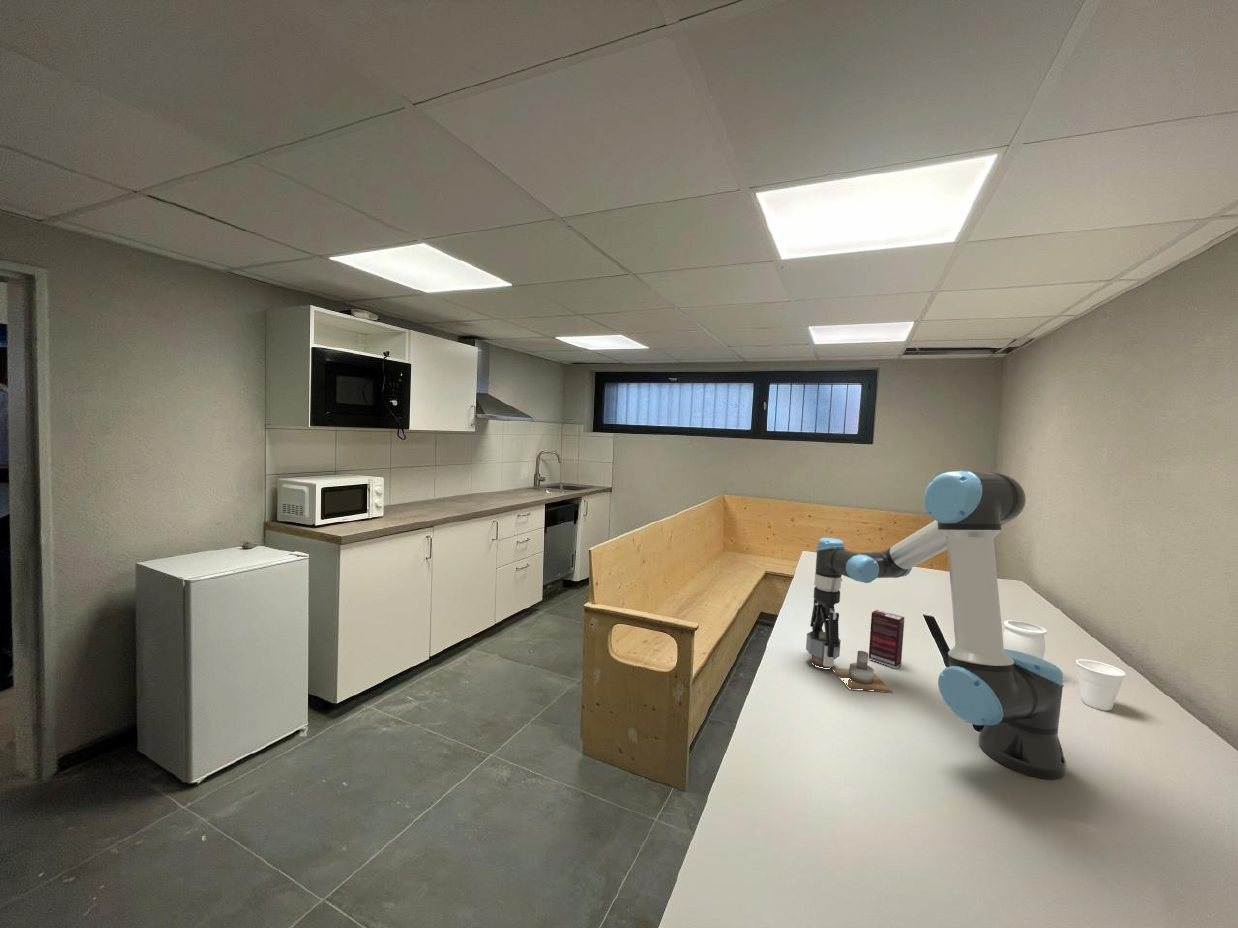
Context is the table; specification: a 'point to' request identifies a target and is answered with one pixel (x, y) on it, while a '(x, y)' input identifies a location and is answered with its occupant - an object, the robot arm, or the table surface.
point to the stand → (817, 660)
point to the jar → (1024, 638)
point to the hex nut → (818, 645)
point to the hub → (862, 675)
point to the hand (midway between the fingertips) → (821, 658)
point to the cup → (1099, 683)
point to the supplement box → (886, 638)
